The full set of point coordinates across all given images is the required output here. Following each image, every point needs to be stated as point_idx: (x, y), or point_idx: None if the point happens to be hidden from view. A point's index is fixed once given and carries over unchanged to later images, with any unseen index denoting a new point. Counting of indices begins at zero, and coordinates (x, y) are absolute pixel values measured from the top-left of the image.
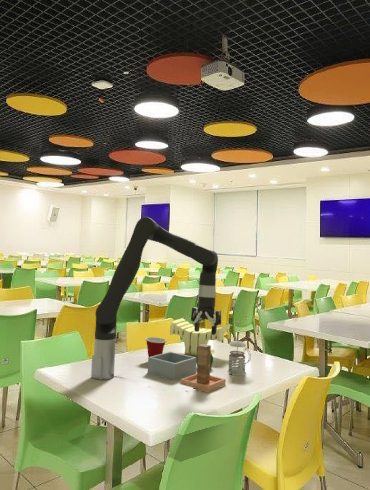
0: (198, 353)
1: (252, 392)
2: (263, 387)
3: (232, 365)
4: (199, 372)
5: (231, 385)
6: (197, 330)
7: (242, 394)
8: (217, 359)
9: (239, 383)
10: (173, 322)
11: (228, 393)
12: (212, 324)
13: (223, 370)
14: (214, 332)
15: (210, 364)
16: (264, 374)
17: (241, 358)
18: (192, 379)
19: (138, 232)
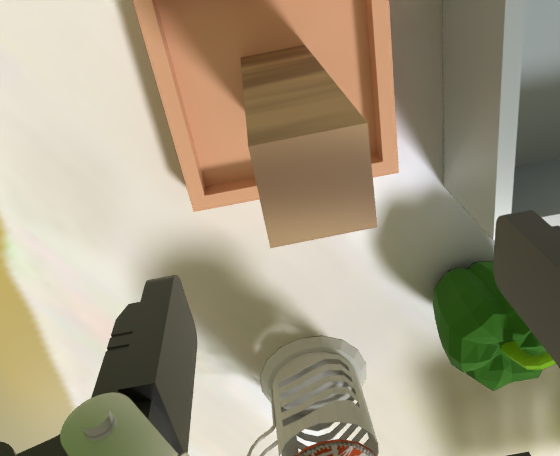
0: (337, 99)
1: (10, 226)
2: (54, 325)
3: (316, 381)
4: (291, 62)
5: (169, 217)
6: (504, 247)
7: (5, 154)
8: (520, 439)
9: (172, 275)
10: None
11: (59, 96)
12: (122, 418)
13: (384, 353)
14: (120, 320)
15: (437, 316)
16: (211, 450)
17: (282, 446)
18: (370, 70)
19: None
